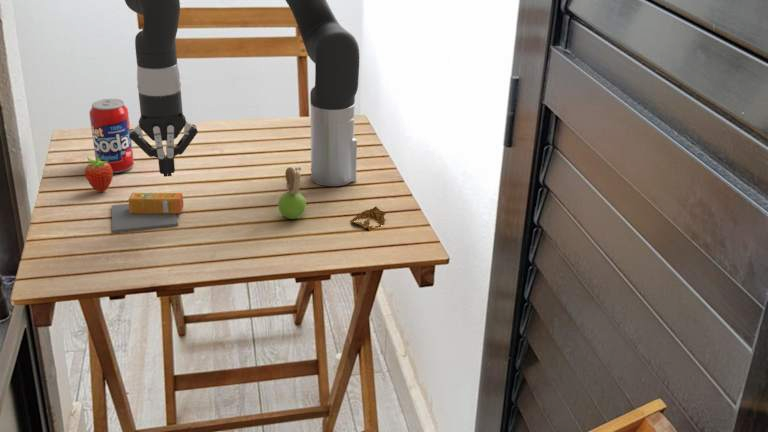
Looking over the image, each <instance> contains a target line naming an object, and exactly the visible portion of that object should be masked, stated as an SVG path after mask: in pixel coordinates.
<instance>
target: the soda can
mask: <svg viewBox="0 0 768 432" xmlns="http://www.w3.org/2000/svg"><path fill="white" fill-rule="evenodd" d="M124 103H125V102H124V101H123V100H121V99H119V98H104V99H103V98H102V99H99V100H96V101H93V102H92V103H91V108H90V110H89V112H88V113H89V119H90V127H91V135H92V142H93V150H94V157H95V158H94V159H96V156H98V157H99V158H100V160H101V161H107V160H108V161H107V163H108V164H110V166H111V167H112V170H113V174H119V173H120V174H121V173H124V172H127V171H128V170H130V169H131V168H132V167H133V166H134V164H135V163H134V161H135V159H134V151H133V145H132V144H133V142H132V141H133V140H131V139H130V137H129V130H130V129H131V127H130V125H131V124H130V117H129V110H128V108H127V106H126V105H125V104H124Z"/></svg>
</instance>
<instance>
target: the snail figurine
mask: <svg viewBox="0 0 768 432" xmlns="http://www.w3.org/2000/svg"><path fill="white" fill-rule="evenodd" d="M298 170H299V171H298ZM301 170H302V167H301V166H299V167H295V169H294V168H293V167H287V168H286V170H285V173H284V174H285V175H284V176H285V182H286V185H285V186H286V190H287V191H286V192H284V193H283V194H282V195H281V196H280V198H279V200H278V204H277V207H278V211H279V213H280V214H281V215H282V216H283V217H284V218H286V219H291V220H294V219H298V218H300V217H301V216H302V215H303V214H304V213H305V211H306V209H307V201H306V199H305V197H304V196H303V194H302V193H300V188H301V178H302V177H301V172H300V171H301Z"/></svg>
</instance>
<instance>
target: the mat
mask: <svg viewBox="0 0 768 432" xmlns="http://www.w3.org/2000/svg"><path fill="white" fill-rule="evenodd" d="M178 226H179V222H178V216H177V213H157V214H141V213H140V214H139V213H130V210H129V203H124V204H122V203H121V204H113V205H111V227H112V228H111V230H112V233H113V234H114V233H121V232H130V231H133V232H134V231H143V230H151V229H161V228H171V227H178Z"/></svg>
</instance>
